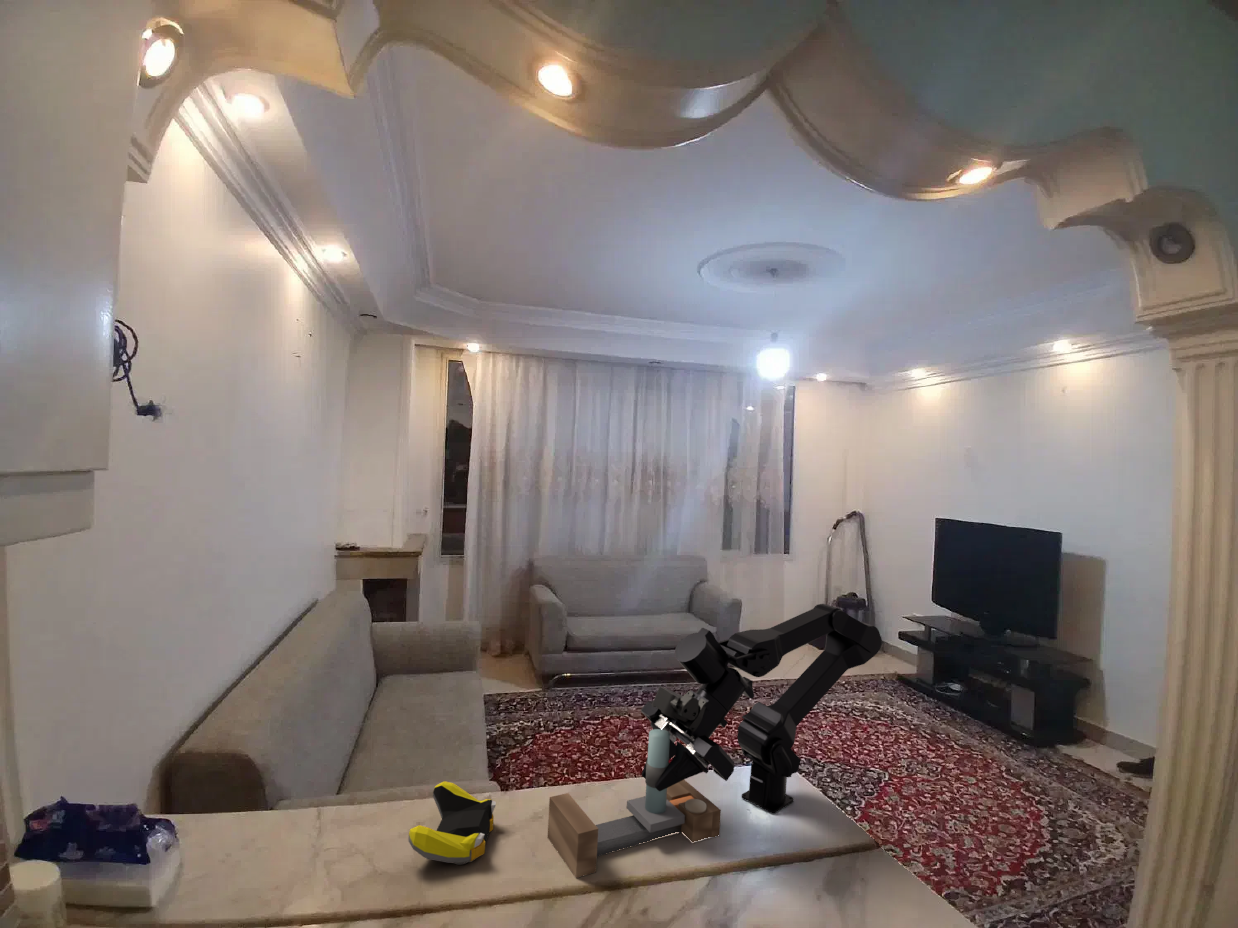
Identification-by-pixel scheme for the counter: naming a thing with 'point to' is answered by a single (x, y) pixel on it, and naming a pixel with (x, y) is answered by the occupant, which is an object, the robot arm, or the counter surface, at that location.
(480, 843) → the gaming controller
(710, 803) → the end cabinet
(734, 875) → the counter surface
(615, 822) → the track
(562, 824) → the end cabinet
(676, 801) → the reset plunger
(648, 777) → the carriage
